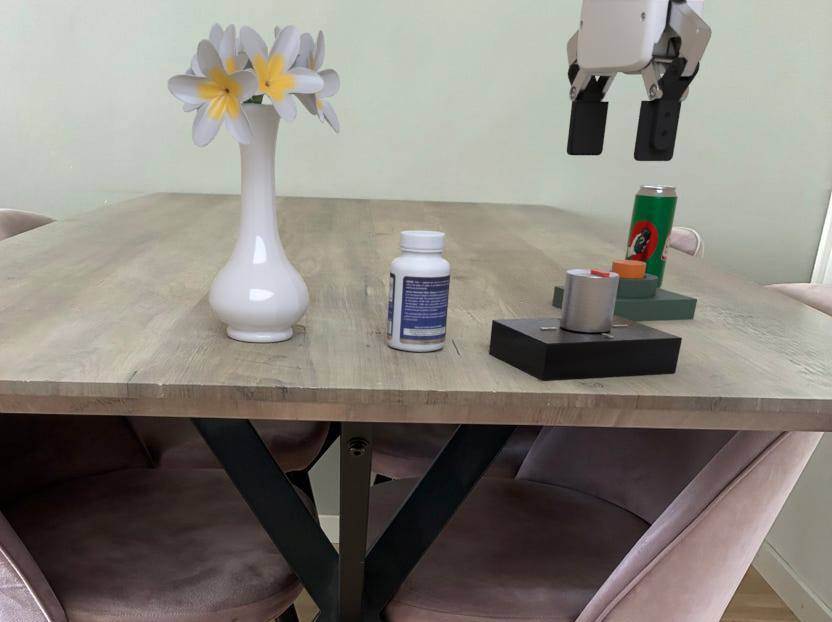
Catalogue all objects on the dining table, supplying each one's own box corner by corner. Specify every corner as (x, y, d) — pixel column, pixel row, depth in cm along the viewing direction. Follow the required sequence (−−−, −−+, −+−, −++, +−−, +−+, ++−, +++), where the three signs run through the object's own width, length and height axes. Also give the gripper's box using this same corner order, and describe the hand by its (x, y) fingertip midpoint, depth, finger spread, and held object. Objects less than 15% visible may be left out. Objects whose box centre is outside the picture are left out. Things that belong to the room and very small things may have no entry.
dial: (550, 323, 84) (557, 265, 82) (594, 322, 85) (602, 265, 83) (575, 333, 80) (584, 273, 78) (620, 332, 82) (630, 272, 79)
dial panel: (611, 348, 90) (617, 313, 89) (675, 373, 82) (683, 335, 81) (488, 353, 86) (492, 317, 85) (542, 380, 78) (547, 341, 77)
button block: (640, 303, 113) (647, 267, 111) (693, 319, 105) (701, 281, 103) (551, 306, 109) (556, 269, 107) (599, 323, 101) (605, 283, 99)
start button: (631, 276, 107) (634, 259, 106) (650, 281, 104) (653, 264, 103) (603, 276, 106) (606, 259, 105) (621, 281, 103) (624, 264, 102)
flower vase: (167, 355, 81) (146, 6, 69) (217, 315, 97) (207, 26, 85) (318, 364, 80) (324, 11, 68) (343, 322, 96) (351, 30, 84)
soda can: (665, 293, 120) (684, 188, 114) (625, 292, 120) (643, 186, 114) (654, 287, 124) (672, 185, 118) (615, 285, 124) (631, 184, 118)
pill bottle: (456, 348, 88) (466, 234, 83) (417, 355, 85) (425, 237, 80) (413, 337, 91) (420, 227, 87) (374, 344, 88) (379, 230, 83)
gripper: (778, -128, 63) (725, 163, 71) (627, -85, 77) (598, 153, 85) (683, -138, 60) (639, 163, 69) (545, -92, 75) (523, 153, 83)
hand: (616, 157), depth 77 cm, fingers open, 9 cm apart
